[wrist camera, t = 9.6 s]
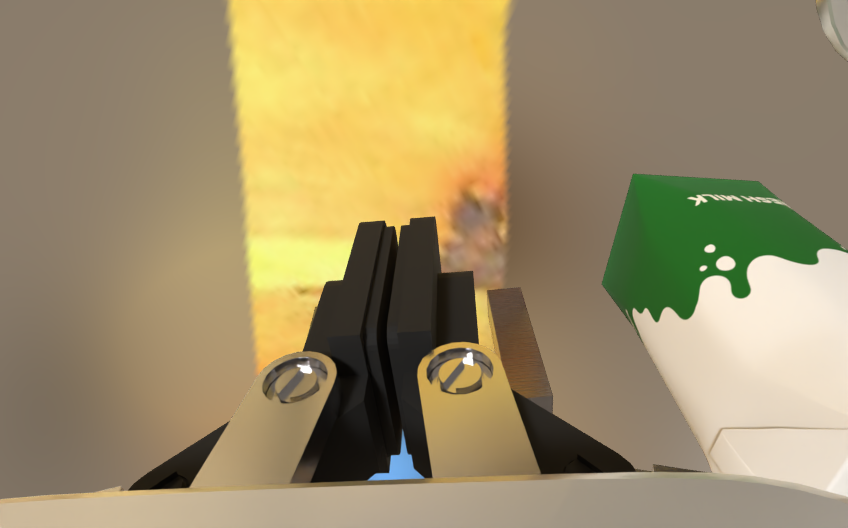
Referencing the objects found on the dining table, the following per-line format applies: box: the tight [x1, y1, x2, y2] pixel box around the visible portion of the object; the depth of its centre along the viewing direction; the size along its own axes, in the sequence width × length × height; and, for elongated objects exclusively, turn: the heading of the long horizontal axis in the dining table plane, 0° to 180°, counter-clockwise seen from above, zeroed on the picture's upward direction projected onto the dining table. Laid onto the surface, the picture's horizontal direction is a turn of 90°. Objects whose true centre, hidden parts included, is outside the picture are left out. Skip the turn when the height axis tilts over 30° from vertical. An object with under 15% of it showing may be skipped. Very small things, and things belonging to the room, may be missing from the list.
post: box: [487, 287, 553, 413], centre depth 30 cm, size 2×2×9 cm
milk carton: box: [602, 174, 848, 497], centre depth 23 cm, size 9×9×20 cm
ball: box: [367, 431, 424, 481], centre depth 37 cm, size 5×5×5 cm
